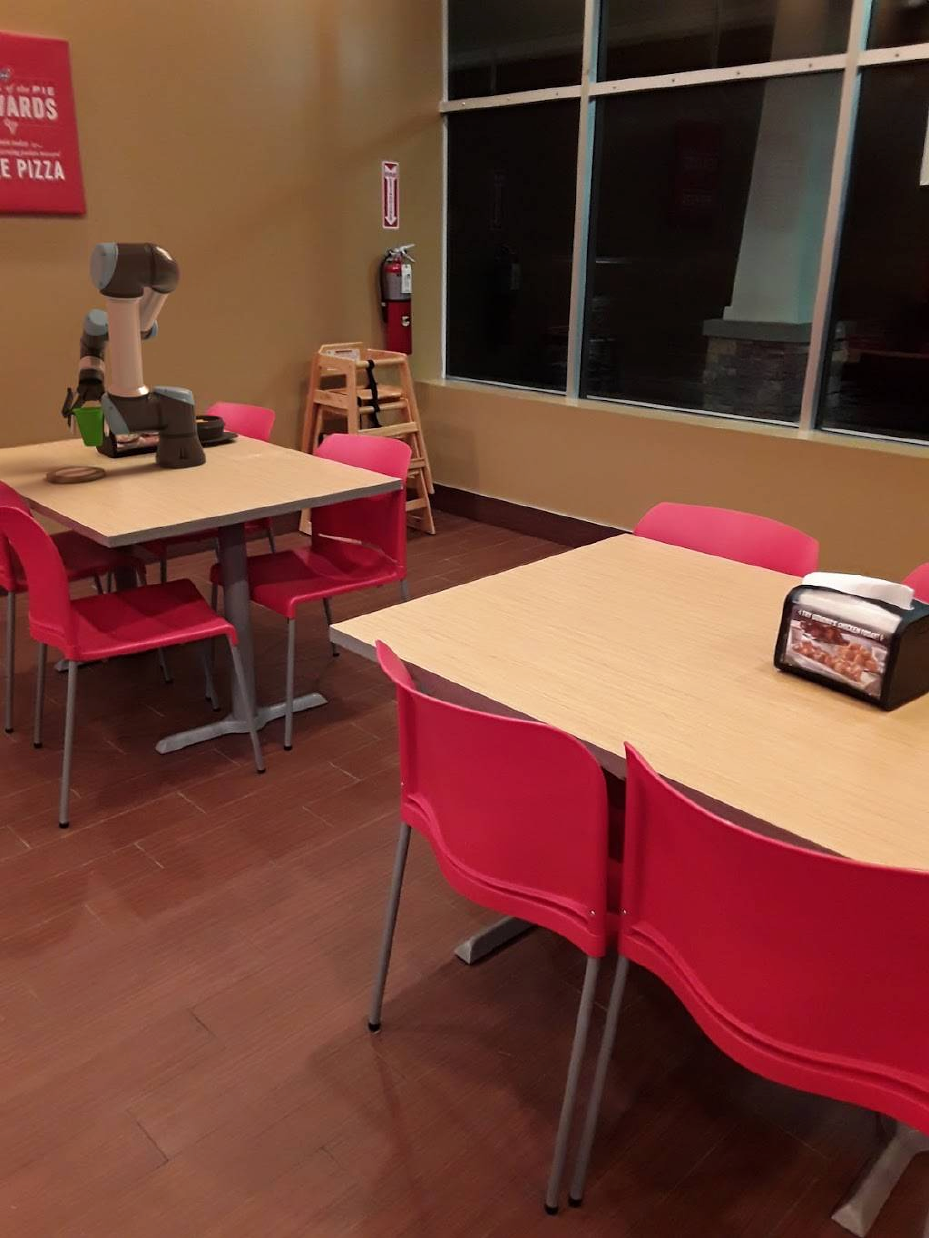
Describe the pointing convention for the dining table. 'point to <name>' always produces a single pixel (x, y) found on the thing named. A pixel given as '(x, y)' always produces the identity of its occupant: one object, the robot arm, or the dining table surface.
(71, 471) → the walnut board
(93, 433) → the cup
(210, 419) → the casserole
